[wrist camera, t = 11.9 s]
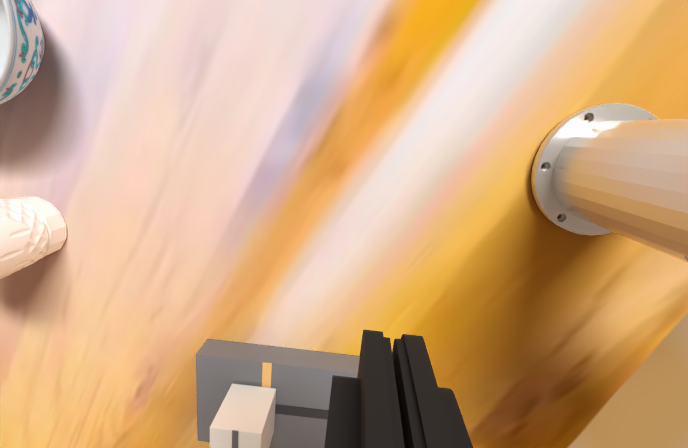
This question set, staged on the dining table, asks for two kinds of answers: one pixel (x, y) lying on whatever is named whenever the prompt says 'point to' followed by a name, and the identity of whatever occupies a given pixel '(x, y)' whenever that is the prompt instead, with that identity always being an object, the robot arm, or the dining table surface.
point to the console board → (272, 386)
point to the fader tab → (244, 418)
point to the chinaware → (19, 46)
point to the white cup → (28, 232)
